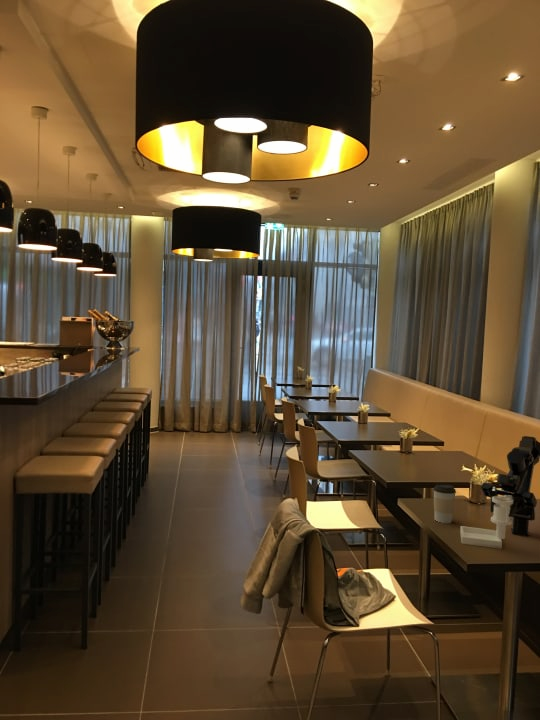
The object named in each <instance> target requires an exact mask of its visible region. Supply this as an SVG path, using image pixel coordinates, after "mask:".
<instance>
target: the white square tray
mask: <svg viewBox="0 0 540 720" xmlns="http://www.w3.org/2000/svg"><path fill="white" fill-rule="evenodd" d="M459 531H460V532H459V533H460V540H461V544H464V545H470V546H477V547H478V546H479V547H484V548H485V547H486V548H493V549H500V550H501V549H502V546H503V541H502V539H501V538H497V537H496V529H495V530H494V529H488V528H481V527H480V528H479V527H471V526H464V525H460V530H459Z"/></svg>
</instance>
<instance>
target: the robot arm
mask: <svg viewBox="0 0 540 720" xmlns="http://www.w3.org/2000/svg"><path fill="white" fill-rule="evenodd" d="M506 461H507V465H508V469H509V471H508V473H507V474H503V473H498V475H497V479H496V483H498V485H499V488H497V487H496V485H495V484H493V483H489V482H482V484H481V486H480V490H481V491H482V493H483V495H484V497H487V498H489V499H490V513H494V505H495V503H494V502H492V497H494V496H504V495H511V496H512V499H513V504H512V506H510V513H509V515H508V516H509V517H510V518H512V527H510V531H511V534H512V535H518V536H525V537H531V534H530V530H529V529H530V528H529V525H530V521H531V522H532V521H535V520H536V510H535V508H536V507H537V504H538V501H537V498H536V496H535V494H534V493H533V492H531V488H532V487H531V486H532V481H533V476H534V475H533V474H534V468H535V466H536V465H537V464H538V463H539V462H540V441H538V440H537V438H536V437H534V436H529V435H528V436H527V435H524V436H522V437H521V440H519V444H518V447H517V446H516V447H514V448H512V449H511V450H510V451H509V452H508V453H507V455H506ZM500 488H501V489H500Z"/></svg>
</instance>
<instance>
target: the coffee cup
mask: <svg viewBox="0 0 540 720" xmlns="http://www.w3.org/2000/svg"><path fill="white" fill-rule="evenodd" d="M456 493H457V491H456V488H455V487H454V485H452V484H448V483H439V482H437V483H436V484H435V486H434V487H433V511H434V521H435V520H436V521H438V522H437V523H439V522H441V523H440V524H451V523H452V521H453V515H454V508H455V503H456ZM436 521H435V522H436Z"/></svg>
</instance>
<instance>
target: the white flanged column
mask: <svg viewBox="0 0 540 720" xmlns="http://www.w3.org/2000/svg"><path fill="white" fill-rule="evenodd" d="M492 502H494V503H495V505H494V511H493V512H492V514H493V515H492V516H490V522H492V523H493V524H495V526H496V529H495V530H496V537H497V538H501V540H503V539H505V538H506V530H507V529H506V528H507V526H511V525H513V518H511V517H509V516H508V515H509V513H510V506H512V504H513V499H512V496H511V495H504V496H502V495H498V496H494V497H492Z"/></svg>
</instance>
